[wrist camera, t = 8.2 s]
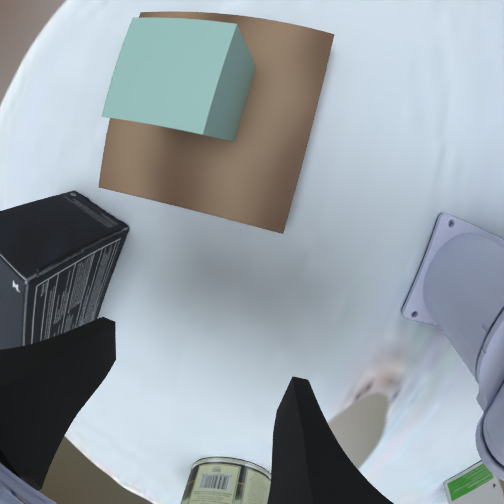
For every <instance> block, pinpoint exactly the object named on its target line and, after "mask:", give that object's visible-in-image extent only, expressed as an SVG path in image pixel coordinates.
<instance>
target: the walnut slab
mask: <svg viewBox="0 0 504 504" xmlns="http://www.w3.org/2000/svg"><path fill="white" fill-rule="evenodd" d="M139 18H183V19H198V20H209V21H218V22H226V23H233V24H237V25H238V27H239V29H240V32H241V34H242V36H243V38H244V40H245V43H246V45H247V47H248V50H249V52H250V54H251V56H252V59H253V61H254V63H255V66H256V68H255V71H254V75H253V78H252V81H251V84H250V88H249V91H248V94H247V98H246V101H245V104H244V108H243V111H242V115H241V118H240V122H239V125H238V129H237V132H236V136H235V139H234V142H232V141H228V140H224V139H220V138H215V137H211V136H206V135H202V134H197V133H193V132H188V131H183V130H178V129H173V128H168V127H163V126H158V125H152V124H147V123H141V122H135V121H128V120H122V119H115V118H110V121H109V126H108V131H107V136H106V141H105V147H104V153H103V159H102V166H101V173H100V180H99V188H104V189H108V190H112V191H116V192H121V193H125V194H129V195H133V196H138V197H142V198H146V199H150V200H154V201H158V202H162V203H166V204H170V205H174V206H178V207H182V208H186V209H190V210H194V211H198V212H202V213H206V214H210V215H214V216H218V217H222V218H225V219H229V220H233V221H237V222H241V223H244V224H248V225H252V226H256V227H259V228H263V229H267V230H271V231H274V232H278V233H282V234H283V232H284V229H285V225H286V221H287V218H288V214H289V211H290V207H291V203H292V200H293V196H294V192H295V189H296V185H297V181H298V177H299V174H300V170H301V166H302V162H303V159H304V155H305V151H306V147H307V143H308V139H309V136H310V132H311V128H312V124H313V120H314V116H315V112H316V108H317V104H318V100H319V96H320V92H321V88H322V84H323V80H324V76H325V71H326V67H327V63H328V59H329V55H330V50H331V46H332V42H333V38H334V34H331V33H327V32H323V31H320V30H316V29H312V28H307V27H303V26H299V25H294V24H289V23H284V22H279V21H273V20H267V19H261V18H254V17H247V16H238V15H229V14H218V13H203V12H141V13H140V16H139Z"/></svg>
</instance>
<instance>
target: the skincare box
mask: <svg viewBox="0 0 504 504" xmlns="http://www.w3.org/2000/svg"><path fill="white" fill-rule="evenodd" d="M444 487H445V490H446V494H447V498H448V502H449V504H504V494H503V491H502V488H501V485H500V482H499V479H498V477H496V476H495V475H494V474H493V473H491V472H490V471H489V470H488V468H487V467H486V466H485V465H484V463H483V461H480V462H479V463H477V464H475V465H474V466H472V467H470V468H469V469H467V470H465V471H463V472H462V473H460V474H458V475H456V476H454V477H452V478H450V479H448V480H446V481H444Z"/></svg>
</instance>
